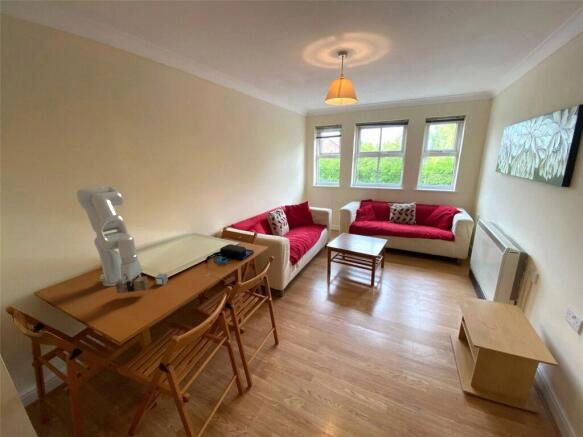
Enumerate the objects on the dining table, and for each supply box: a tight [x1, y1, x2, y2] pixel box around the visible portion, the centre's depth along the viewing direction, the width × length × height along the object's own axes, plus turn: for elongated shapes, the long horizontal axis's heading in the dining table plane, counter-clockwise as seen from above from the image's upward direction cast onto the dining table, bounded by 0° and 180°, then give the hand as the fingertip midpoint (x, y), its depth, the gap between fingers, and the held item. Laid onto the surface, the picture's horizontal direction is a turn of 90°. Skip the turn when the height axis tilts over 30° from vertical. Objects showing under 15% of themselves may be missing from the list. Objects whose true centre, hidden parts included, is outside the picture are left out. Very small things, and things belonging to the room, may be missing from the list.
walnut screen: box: [115, 276, 149, 294], centre depth 134 cm, size 14×5×6 cm, turn 103°
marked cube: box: [154, 273, 169, 286], centre depth 149 cm, size 5×5×5 cm
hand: (135, 287), depth 135 cm, fingers closed on walnut screen, 5 cm apart
